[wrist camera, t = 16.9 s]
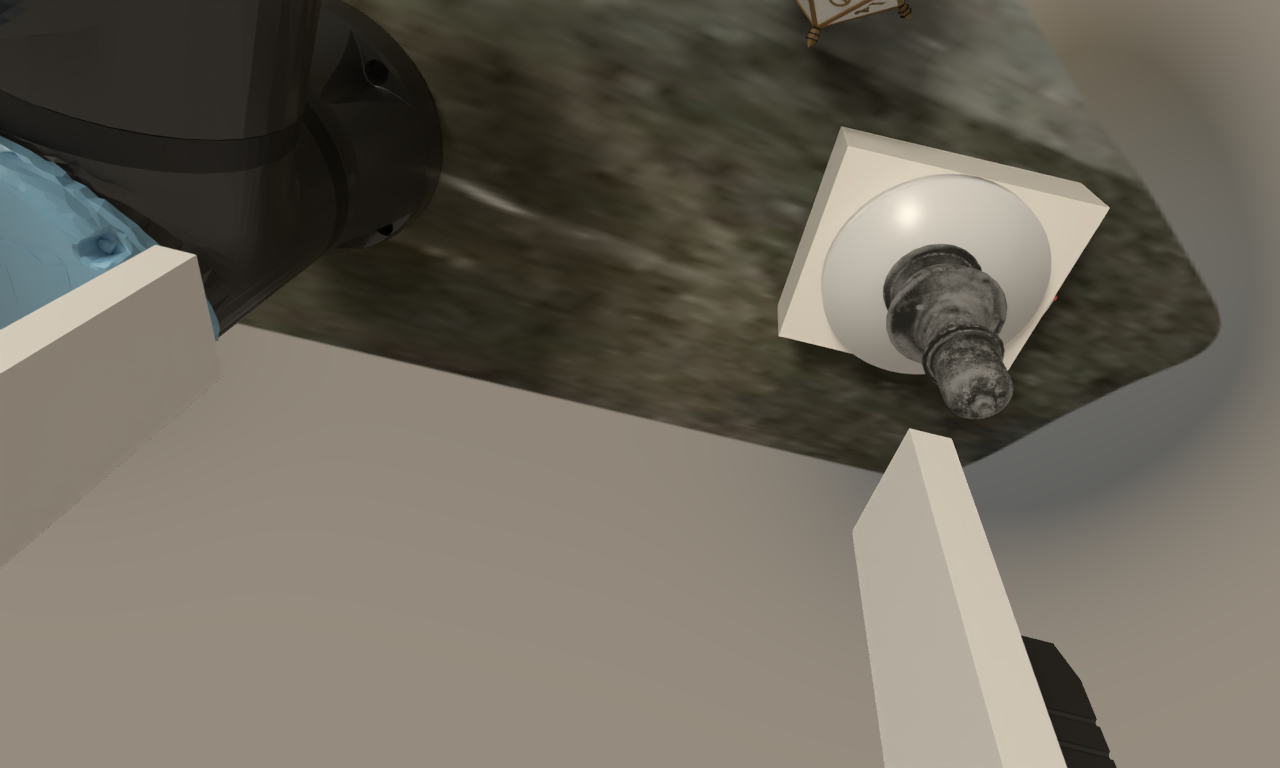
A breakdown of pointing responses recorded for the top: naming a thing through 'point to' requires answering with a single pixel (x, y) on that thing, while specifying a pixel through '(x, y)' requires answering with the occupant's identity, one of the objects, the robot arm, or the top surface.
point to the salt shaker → (951, 326)
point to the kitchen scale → (927, 240)
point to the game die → (845, 12)
